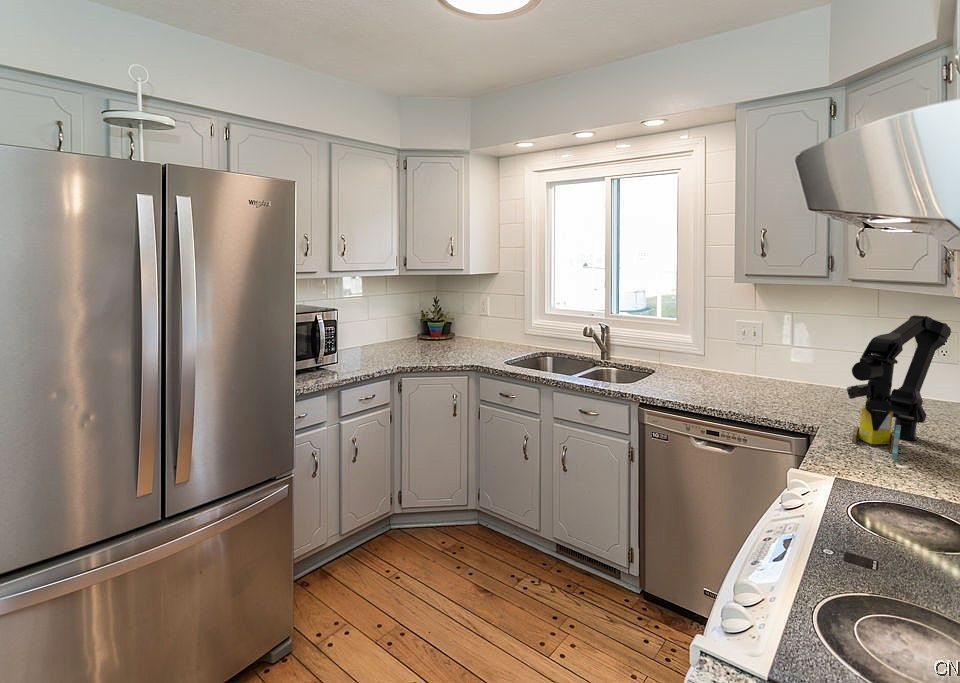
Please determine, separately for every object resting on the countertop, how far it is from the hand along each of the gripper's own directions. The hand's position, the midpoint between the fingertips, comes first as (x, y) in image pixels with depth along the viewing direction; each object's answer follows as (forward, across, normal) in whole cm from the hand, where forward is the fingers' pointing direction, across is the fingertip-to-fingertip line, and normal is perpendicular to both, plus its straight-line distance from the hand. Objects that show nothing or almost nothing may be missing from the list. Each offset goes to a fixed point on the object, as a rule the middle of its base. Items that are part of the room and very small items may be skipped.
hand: (875, 427), depth 177 cm
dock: (+5, 0, 0) cm, 5 cm away
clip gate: (+5, +12, +5) cm, 14 cm away
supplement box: (+6, 0, 0) cm, 6 cm away
